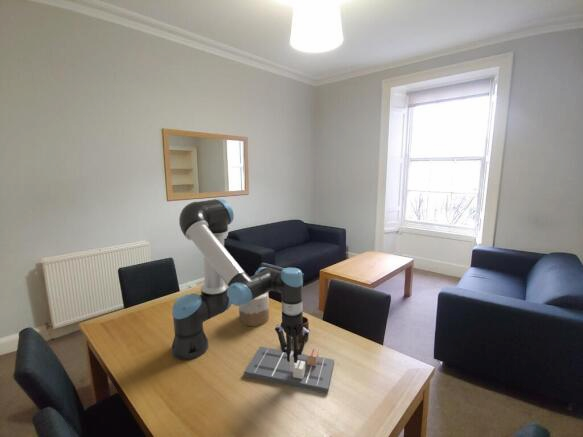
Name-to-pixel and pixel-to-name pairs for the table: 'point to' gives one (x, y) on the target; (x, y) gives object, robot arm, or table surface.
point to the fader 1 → (299, 369)
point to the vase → (255, 311)
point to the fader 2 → (312, 357)
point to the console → (277, 370)
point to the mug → (306, 325)
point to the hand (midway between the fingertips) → (292, 369)
